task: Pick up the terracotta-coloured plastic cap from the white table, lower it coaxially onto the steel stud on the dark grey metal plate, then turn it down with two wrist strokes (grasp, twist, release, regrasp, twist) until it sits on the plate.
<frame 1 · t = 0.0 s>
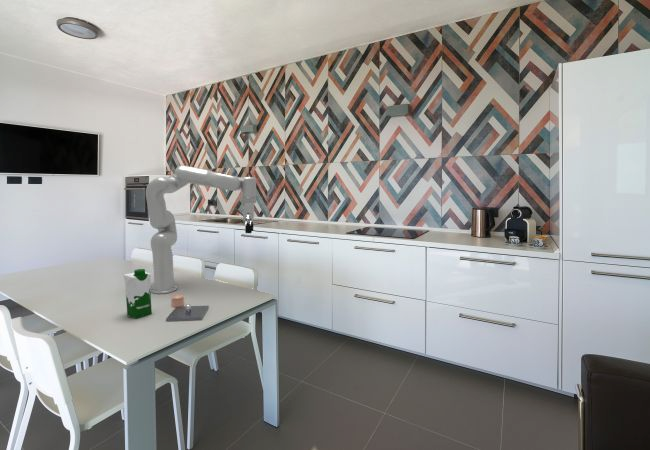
hand: (249, 231, 180), 31 cm above the table, tool pointing down, fingers open, 9 cm apart
milk carton: (139, 314, 145), on the table
stud plate: (188, 314, 145), on the table
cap: (177, 305, 156), on the table
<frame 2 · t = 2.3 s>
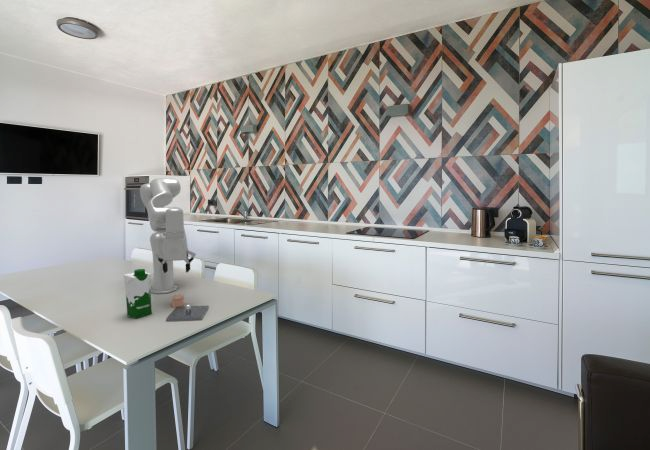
hand: (176, 271, 154), 16 cm above the table, tool pointing down, fingers open, 9 cm apart
nothing on the table moved.
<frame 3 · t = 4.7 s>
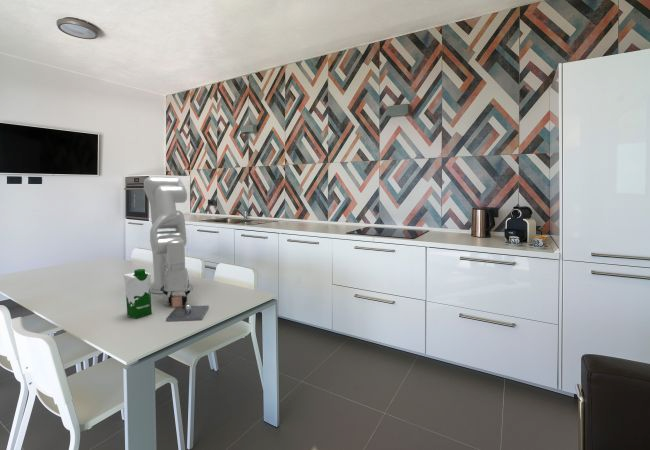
hand: (177, 303, 156), 1 cm above the table, tool pointing down, fingers closed on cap, 5 cm apart
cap: (177, 305, 156), on the table, touching gripper
everything else where it was.
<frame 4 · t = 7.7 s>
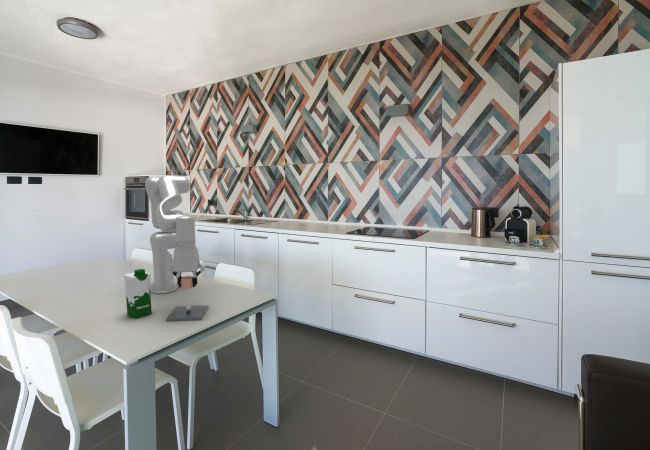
hand: (187, 285, 144), 13 cm above the table, tool pointing down, fingers closed on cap, 5 cm apart
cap: (187, 287, 144), point 12 cm above the table, touching gripper
everything else where it was.
when the fingers open (3 cm above the table, at t = 10.6 s): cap stays where it is, resting on stud plate.
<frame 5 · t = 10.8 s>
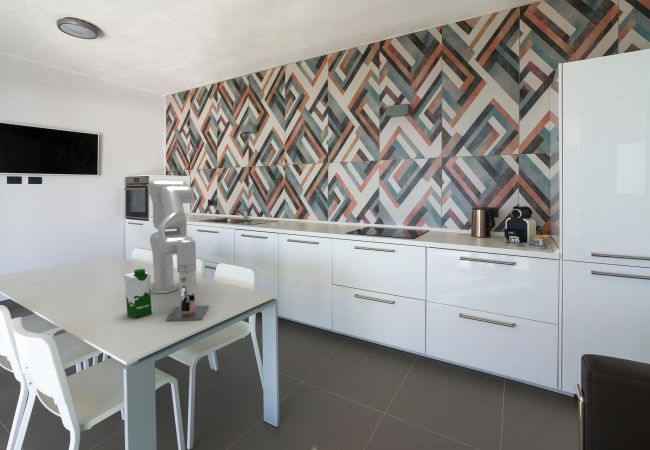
hand: (188, 307, 145), 3 cm above the table, tool pointing down, fingers open, 7 cm apart
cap: (188, 311, 145), point 1 cm above the table, touching stud plate
everything else where it was.
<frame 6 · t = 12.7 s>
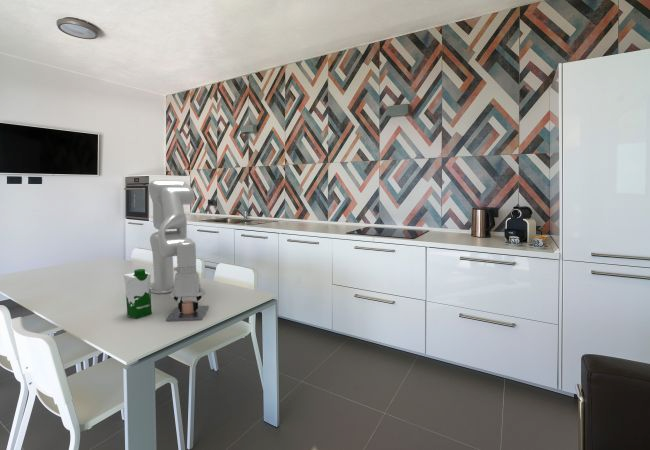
hand: (188, 310, 145), 2 cm above the table, tool pointing down, fingers closed on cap, 5 cm apart
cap: (188, 311, 145), point 1 cm above the table, touching gripper, stud plate
everything else where it was.
when the fingers open (2 cm above the table, at t = 13.8 s): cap stays where it is, resting on stud plate.
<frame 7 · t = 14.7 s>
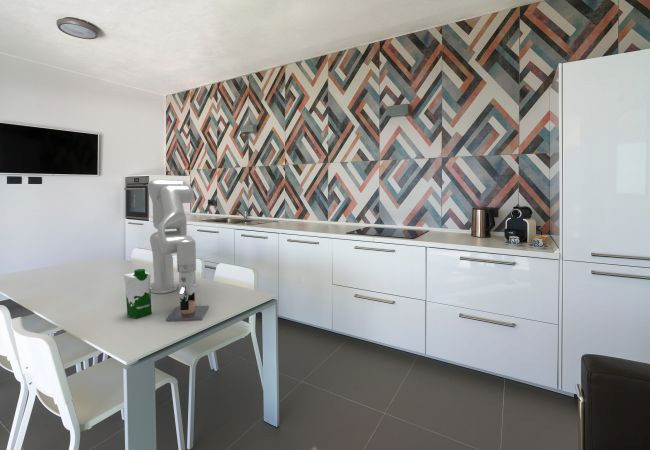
hand: (187, 305, 145), 4 cm above the table, tool pointing down, fingers open, 9 cm apart
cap: (188, 311, 145), point 1 cm above the table, touching stud plate
everything else where it was.
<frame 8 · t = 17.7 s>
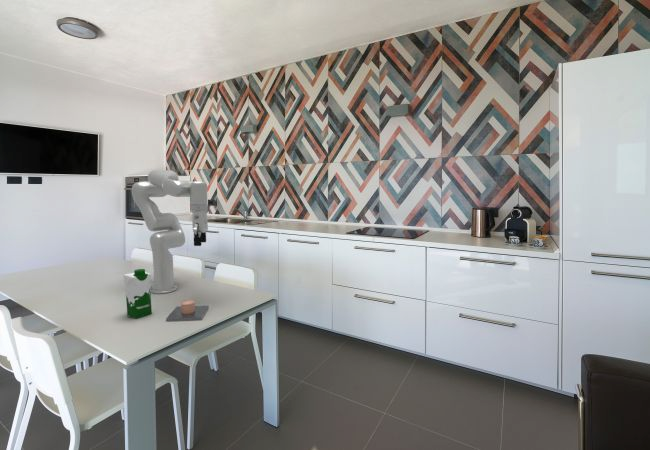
hand: (200, 244, 158), 28 cm above the table, tool pointing down, fingers open, 9 cm apart
nothing on the table moved.
at the end: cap 0.1 cm from the stud plate (horizontally); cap point 1.2 cm above the table; the gripper is holding nothing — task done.
